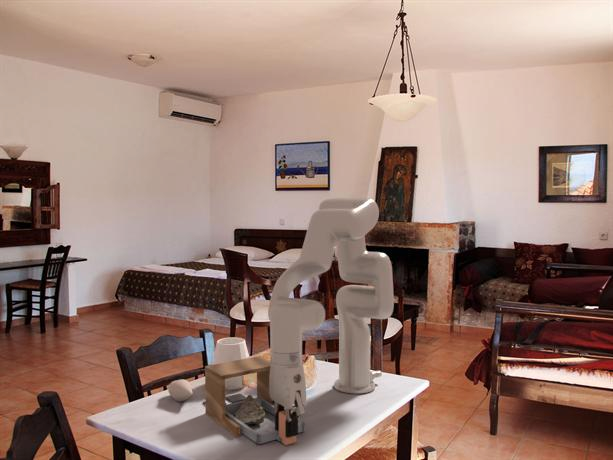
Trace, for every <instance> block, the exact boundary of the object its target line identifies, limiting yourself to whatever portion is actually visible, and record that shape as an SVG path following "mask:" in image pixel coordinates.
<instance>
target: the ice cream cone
mask: <svg viewBox="0 0 613 460" xmlns="http://www.w3.org/2000/svg"><path fill="white" fill-rule="evenodd" d="M167 390H168V394H169V395H170V396H171V398H172V399H174V400H175V401H176V402H184V401H186V400H188V399H189V398H190V397H191V396H192V395H193V389H192V385H191V383H190V382H189V381H188V380H187V379H178V380H174V381H171V382H170V383H169V385H168V388H167Z"/></svg>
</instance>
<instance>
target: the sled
mask: <svg viewBox="0 0 613 460" xmlns="http://www.w3.org/2000/svg"><path fill="white" fill-rule="evenodd" d="M253 398H254V400H255V401H257V402H258V403H259V404H260V406H261V407H262V408H263V410H264V411H267V412H268V413H270V414H271V415H274V416H275V413H274V405H272V404H271V403H269V402H267V401H266V400H264V399H263V400H262V398H261V397H257V396H255V397H253ZM244 401H245V400H244ZM244 401H239V402H235V403H232V402H230V403H226V405H225V415H226V417H228V418H229V419H231V420H232V421H233V422H235V423H236V424H238V425H239V426H240V433H242V434H243V435H244V436H246V437H247V438H248V439H249V440H252V441H253V442H254V443H256V444H257V445H261V444H265V443H268V442H272V441H275V440H277V441H279V442H281V443H282V444H283V445H284V446H288V445H291V444H294V443H297V435H296V436H293V437H289V438H287V437H286V436H285V421H286V420H287V414H286V410H284V411H281V412H279V431H276V430H275V429H271V430H269V431H268V430H267V431H266V432H265V431H263V432H261V433H258V432H257V431H256V430H254V429H252V428H251V427H250V426H248V425H245V424H244V423H243V422H241V421H240V420H238V419H237V418H235V417H234V416H233V415H234V413H235V412H236V411H237V410H238V409H239V408H240V406H241V405H242V404H243V403H244ZM293 411H294V410H291V414H292V412H293ZM302 432H305V422H303V421H301V420H300V419H298V434H299V433H302Z"/></svg>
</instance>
